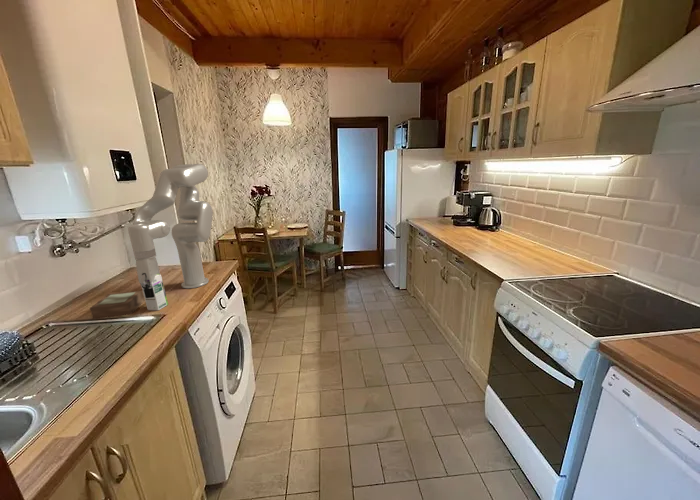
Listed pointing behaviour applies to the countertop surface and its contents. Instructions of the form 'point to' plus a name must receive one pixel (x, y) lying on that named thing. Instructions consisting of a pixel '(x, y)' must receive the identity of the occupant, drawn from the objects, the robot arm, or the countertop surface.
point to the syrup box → (156, 295)
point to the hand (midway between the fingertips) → (154, 293)
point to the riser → (117, 304)
